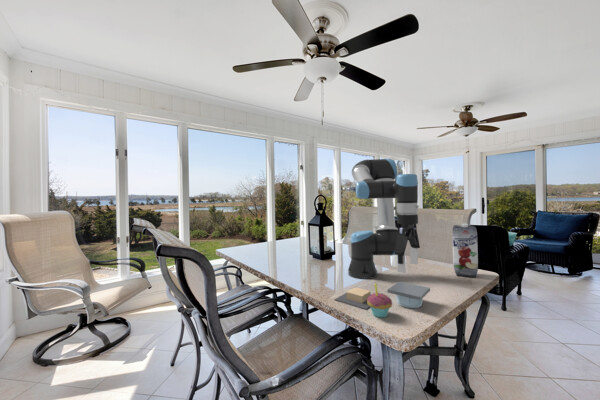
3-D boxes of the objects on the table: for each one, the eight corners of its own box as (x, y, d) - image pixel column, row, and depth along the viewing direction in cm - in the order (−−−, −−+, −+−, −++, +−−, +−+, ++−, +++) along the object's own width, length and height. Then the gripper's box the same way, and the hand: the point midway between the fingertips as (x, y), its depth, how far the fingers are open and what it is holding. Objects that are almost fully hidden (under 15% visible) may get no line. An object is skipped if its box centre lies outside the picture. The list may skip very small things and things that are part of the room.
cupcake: (382, 322, 83) (381, 286, 83) (362, 313, 90) (361, 280, 90) (397, 315, 88) (396, 281, 88) (377, 307, 95) (376, 275, 95)
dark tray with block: (334, 300, 102) (334, 292, 102) (352, 290, 113) (352, 283, 112) (366, 309, 93) (365, 301, 93) (382, 298, 103) (382, 290, 103)
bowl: (393, 303, 98) (392, 292, 97) (401, 296, 104) (401, 286, 104) (417, 310, 91) (417, 298, 91) (425, 302, 98) (424, 291, 98)
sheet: (387, 292, 97) (387, 289, 97) (399, 284, 106) (399, 281, 106) (420, 300, 89) (420, 297, 89) (430, 290, 98) (430, 287, 98)
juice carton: (452, 271, 137) (451, 222, 137) (476, 273, 132) (475, 222, 132) (454, 276, 129) (453, 223, 129) (478, 278, 125) (477, 224, 124)
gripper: (405, 217, 86) (406, 278, 86) (427, 211, 104) (427, 262, 105) (384, 216, 91) (385, 273, 92) (408, 211, 109) (409, 259, 110)
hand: (408, 267), depth 98 cm, fingers open, 13 cm apart
